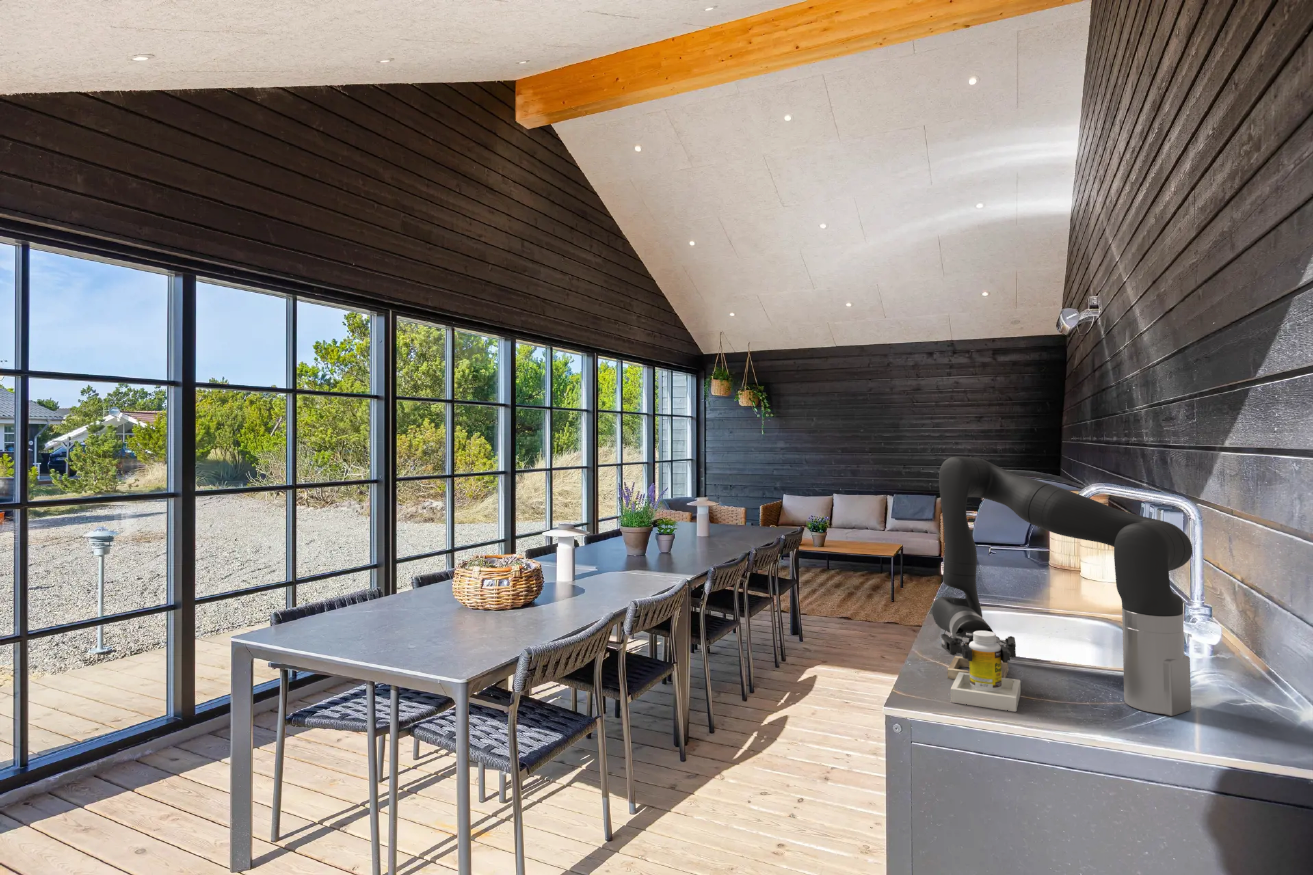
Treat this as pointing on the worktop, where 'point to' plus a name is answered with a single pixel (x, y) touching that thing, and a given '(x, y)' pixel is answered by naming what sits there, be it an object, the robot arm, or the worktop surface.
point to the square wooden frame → (964, 662)
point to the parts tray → (986, 694)
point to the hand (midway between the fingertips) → (987, 656)
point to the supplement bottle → (985, 662)
